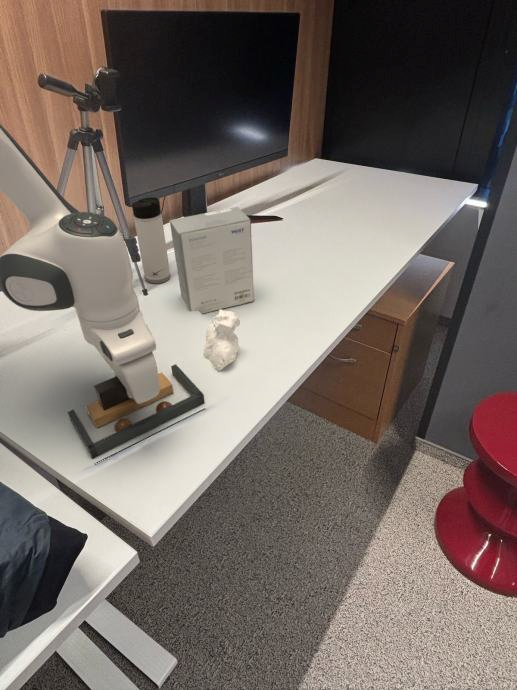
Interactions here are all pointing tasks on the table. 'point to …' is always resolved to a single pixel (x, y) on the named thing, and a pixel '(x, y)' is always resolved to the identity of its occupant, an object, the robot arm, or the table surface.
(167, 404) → the brown ball
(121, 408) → the brush
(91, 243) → the robot arm
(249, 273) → the hard drive box
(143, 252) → the travel mug
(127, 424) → the brown chestnut
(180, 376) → the catcher
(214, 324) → the bust
